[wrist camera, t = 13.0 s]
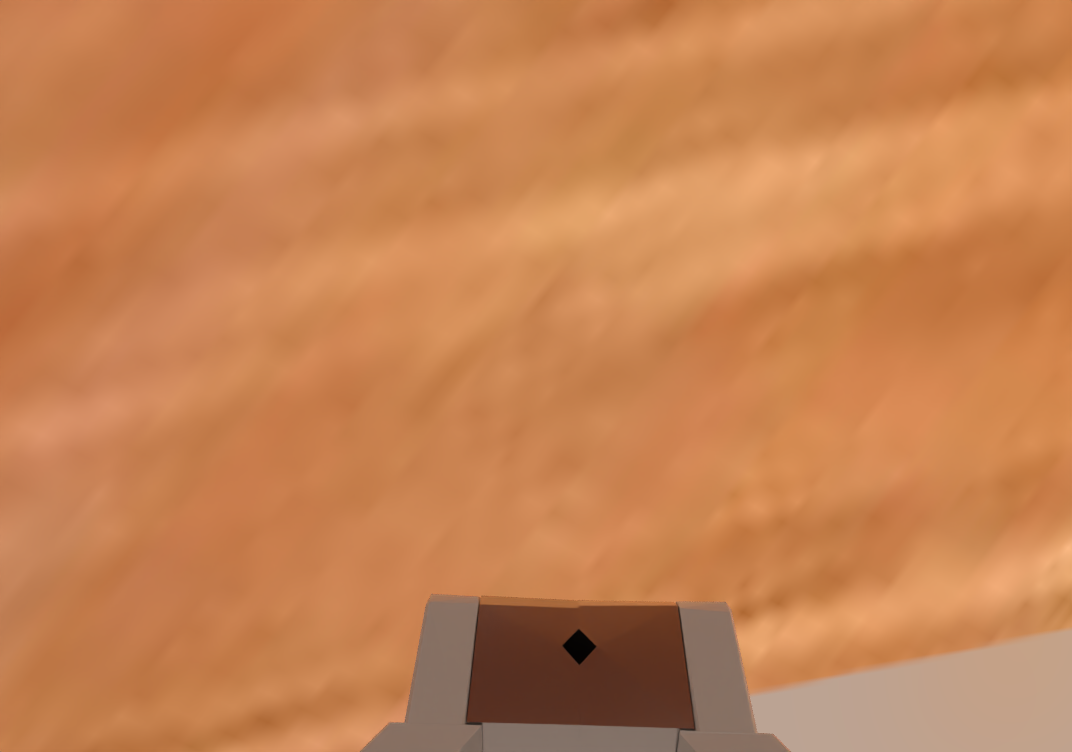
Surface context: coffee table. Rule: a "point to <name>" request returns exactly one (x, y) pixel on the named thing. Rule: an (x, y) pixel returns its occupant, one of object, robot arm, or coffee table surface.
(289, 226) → the coffee table surface
